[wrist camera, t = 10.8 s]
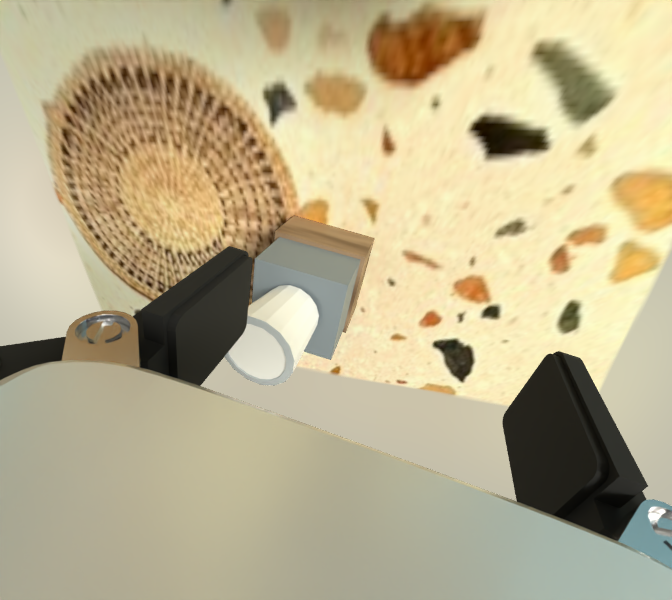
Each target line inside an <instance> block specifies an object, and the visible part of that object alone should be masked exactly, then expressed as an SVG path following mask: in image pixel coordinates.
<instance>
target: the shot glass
mask: <svg viewBox="0 0 672 600" xmlns="http://www.w3.org/2000/svg"><path fill="white" fill-rule="evenodd" d="M318 318H319V314H318V310H317V306H316V304H315V303H314V301H313V300H312V298H311V297H310V296H309V295H308V294H307V293H305V292H304V291H303V290H301V289H300V288H297V287H294V286H291V285H282V286H278V287H276V288H274V289H272V290H271V291H269V292H268V293H267V294H265V295H264V296H262V297H261V298H259V299H258V300H256V301H255V302H254V303H252V304H251V305H249V306H248V316H247V325H246V329H245V331H244V333H243V334H242V336H241V337H240V338H239V339H238V341H237V342H236V343H235V344H234V345H233V347H232V348H231V349H230V350H229V351H228V353H227V354H226V355H225V356H224V357H225V358H226V360H227V361H228V362H229V363H230V365H231V366H232V367H233V368H234V370H236V371H237V372H238V373H240V374H241V375H242V376H244V377H245V378H246V379H248V380H251V381H253V382H256V383H258V384H261V385H277V384H279V383H283V382H285V381H286V380H287V379H288V378H289V377H290V375H291V374H292V373H293V371H294V369H295V367H296V365H297V363H298V361H299V359H300V357H301V356H302V354H303V352H304V350H305V348H306V346H307V344H308V342H309V340H310V338H311V336H312V334H313V332H314V330H315V328H316V326H317V324H318Z"/></svg>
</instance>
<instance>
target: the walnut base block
mask: <svg viewBox="0 0 672 600" xmlns="http://www.w3.org/2000/svg"><path fill="white" fill-rule="evenodd" d="M279 237H282V238H285V239H289V240H293V241H296V242H300V243H303V244H307V245H310V246H314V247H318V248H321V249H325V250H328V251H332V252H335V253H339V254H343V255H346V256H350V257H353V258H357V259H361V260H360V264H359V269H358V273H357V277H356V281H355V285H354V289H353V293H352V297H351V301H350V306H349V310H348V314H347V318H346V322H345V326H344V329H343V332H345V333H346V330H347V328H348V325H349V323H350V320H351V318H352V315H353V313H354V310H355V308H356V304H357V300H358V297H359V293H360V289H361V286H362V282H363V278H364V275H365V271H366V267H367V264H368V260H369V256H370V253H371V249H372V245H373V242H374V238H372V237H368V236H365V235H361V234H358V233H354V232H351V231H347V230H344V229H340V228H337V227H333V226H330V225H326V224H323V223H319V222H316V221H312V220H309V219H305V218H302V217H298V216H295V215H294V216H293V217H292V218H291V219H289V220H288V221H287V222H286V223H284V224H283V225H282V226H281V227H280V228H278V229H277V230H276V231H275V237H274V241H276V240H277V239H278V238H279Z"/></svg>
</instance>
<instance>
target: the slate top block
mask: <svg viewBox="0 0 672 600" xmlns="http://www.w3.org/2000/svg"><path fill="white" fill-rule="evenodd" d="M360 260H361V259H357V258H353V257H350V256H346V255H343V254H339V253H335V252H332V251H328V250H325V249H321V248H318V247H314V246H310V245H307V244H303V243H300V242H296V241H293V240H289V239H285V238H282V237H279V238H278V239H277V240H276V241H274V242H273V243H272V244H271V245H270V246H269V247H268V248H267V249H265V250H264V251H263V252H262V253H261V254H260V255H259V256H257V257H256V258H255V267H254V282H253V297H252V303H254V302H255V301H256V300H258V299H259V298H261V297H262V296H264V295H265V294H267V293H268V292H269V291H271V290H272V289H274V288H276V287H278V286H282V285H291V286H294V287H297V288H300V289H301V290H303V291H304V292H305V293H307V294H308V295H309V296H310V297H311V298H312V300H313V301H314V303H315V304H316V306H317V310H318V314H319V318H318V324H317V326H316V328H315V330H314V332H313V334H312V336H311V338H310V340H309V342H308V344H307V346H306V348H305V350H304V352H308V353H311V354H314V355H317V356H320V357H323V358H326V359H330V360H331V358H332V356H333V353H334V351H335V349H336V346H337V344H338V341H339V339H340V336H341V334H342V332H343V329H344V326H345V322H346V318H347V314H348V310H349V306H350V301H351V297H352V293H353V289H354V285H355V281H356V277H357V273H358V269H359V264H360Z"/></svg>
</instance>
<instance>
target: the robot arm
mask: <svg viewBox="0 0 672 600" xmlns="http://www.w3.org/2000/svg"><path fill="white" fill-rule="evenodd" d="M251 273H252V258H251V257H248V253H247V252H246V251H243V250H240V249H237V248H234V247H230V246H229V247H227V248H226V249H225V250H223V251H222V252H220V253H219V254H218V255H216V256H215V257H213V258H212V259H211V260H209V261H208V262H206V263H205V264H204V265H202V266H201V267H200V268H198V269H197V270H195V271H194V272H193V273H191V274H190V275H188V276H187V277H186V278H184V279H183V280H182V281H180V282H179V283H177V284H176V285H175V286H173V287H172V288H170V289H169V290H168V291H166V292H165V293H163V294H162V295H161V296H159V297H158V298H157V299H155V300H154V301H152V302H151V303H150V304H148V305H147V306H145V307H144V308H143V309H141V311H140V312H139V313H137V314H136V315H134V316H133V317H132V316H131V315H129V314H127V313H124V312H119V311H100V312H94V313H91V314H88V315H85V316H83V317H81V318H79V319H77V320H76V321H74V322H73V323H72V324H71V325H70V326H69V329H68V331H67V334H66V337H61V338H54V339H48V340H41V341H34V342H27V343H21V344H14V345H6V346H0V600H672V506H670V505H668V504H666V503H664V502H661V501H658V500H654V499H652V500H646V498H645V496H644V494H643V492H642V491H643V490H644V489H645V488H646V487H648V485H647V483H646V481H645V479H644V477H643V476H642V474H641V472H640V470H639V468H638V466H637V464H636V462H635V460H634V458H633V457H632V455H631V453H630V451H629V449H628V447H627V445H626V443H625V441H624V439H623V438H622V436H621V434H620V432H619V430H618V428H617V426H616V424H615V422H614V421H613V419H612V417H611V415H610V413H609V411H608V409H607V407H606V405H605V404H604V401H603V400H602V398H601V396H600V394H599V392H598V390H597V388H596V386H595V384H594V382H593V380H592V379H591V377H590V375H589V373H588V371H587V369H586V367H585V365H584V363H583V361H582V360H581V359H580V358H578V357H575V356H572V355H569V354H566V353H563V352H559V351H558V352H555V353H554V354H548V355H546V357H545V358H544V359H543V361H542V362H541V363H540V365H539V366H538V367H537V369H536V370H535V372H534V373H533V374H532V376H531V377H530V379H529V380H528V381H527V383H526V384H525V386H524V387H523V388H522V390H521V391H520V393H519V394H518V395H517V397H516V398H515V400H514V401H513V402H512V404H511V405H510V407H509V408H508V410H507V411H506V413H505V414H504V417H503V429H504V434H505V440H506V445H507V451H508V456H509V461H510V467H511V472H512V477H513V483H514V488H515V494H516V499H517V502H516V501H514V500H511V499H508V498H506V497H503V496H500V495H498V494H495V493H492V492H489V491H487V490H484V489H481V488H479V487H476V486H473V485H471V484H468V483H465V482H463V481H460V480H457V479H455V478H452V477H449V476H447V475H444V474H441V473H439V472H436V471H433V470H431V469H428V468H425V467H422V466H420V465H417V464H414V463H412V462H409V461H406V460H403V459H401V458H398V457H395V456H392V455H390V454H387V453H384V452H382V451H379V450H376V449H373V448H370V447H368V446H365V445H362V444H360V443H357V442H354V441H351V440H349V439H346V438H343V437H341V436H338V435H335V434H332V433H329V432H327V431H324V430H321V429H318V428H316V427H313V426H310V425H307V424H305V423H302V422H299V421H296V420H294V419H291V418H288V417H285V416H283V415H280V414H277V413H274V412H271V411H269V410H266V409H263V408H260V407H258V406H254V405H252V404H249V403H246V402H244V401H241V400H238V399H235V398H232V397H230V396H227V395H224V394H221V393H218V392H215V391H213V390H210V389H207V388H204V387H201V386H200V385H201V384H202V383H203V382H204V381H205V379H206V378H207V377H208V376H209V374H210V373H211V372H212V371H213V370H214V368H215V367H216V366H217V365H218V364H219V362H220V361H221V360H222V359H223V358H224V356H225V355H226V354H227V353H228V351H229V350H230V349H231V348H232V347H233V345H234V344H235V343H236V342H237V341H238V339H239V338H240V337H241V336H242V334H243V333H244V331H245V329H246V325H247V316H248V305H249V295H250V284H251Z"/></svg>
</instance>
